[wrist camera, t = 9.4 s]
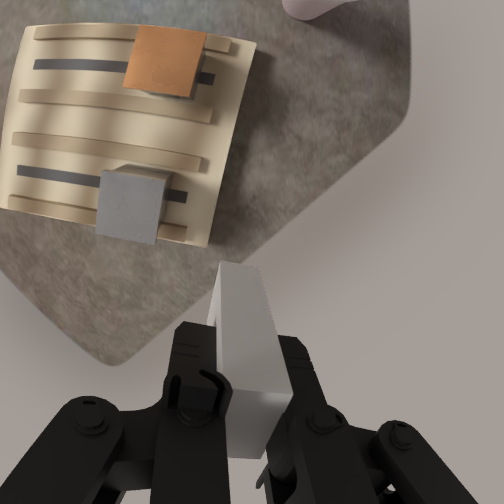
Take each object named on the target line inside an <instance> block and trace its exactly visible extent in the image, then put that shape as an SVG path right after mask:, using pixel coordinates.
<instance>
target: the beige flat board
mask: <svg viewBox="0 0 504 504" xmlns="http://www.w3.org/2000/svg"><path fill="white" fill-rule="evenodd" d="M149 26H152V25H149ZM139 27H140V24H123V23H65V24H49V25H37V26H28V27H26V28H25V31H24V35H23V38H22V41H21V45H20V48H19V52H18V55H17V59H16V63H15V67H14V71H13V75H12V80H11V84H10V89H9V94H8V100H7V105H6V111H5V118H4V125H3V132H2V141H1V151H0V208H5V209H10V210H15V211H20V212H25V213H31V214H36V215H41V216H46V217H51V218H56V219H61V220H66V221H71V222H76V223H81V224H87V225H92V226H96V216H97V205H98V196H99V187H100V179H101V172H102V170H105V169H108V170H114V169H116V168H118V167H121V166H123V165H125V164H133V165H139V166H145V167H151V168H157V169H162V170H168V171H173V177H172V182H171V187H170V193H169V198H168V204H167V210H166V216H165V219H164V221H163V223H162V225H161V226H160V228H159V230H158V236H157V238H159V239H164V240H169V241H174V242H179V243H185V244H190V245H195V246H200V247H206V248H207V245H208V240H209V235H210V230H211V226H212V221H213V217H214V212H215V207H216V203H217V198H218V194H219V190H220V185H221V181H222V177H223V172H224V168H225V164H226V160H227V155H228V151H229V147H230V143H231V139H232V135H233V131H234V127H235V123H236V119H237V115H238V111H239V107H240V103H241V99H242V96H243V92H244V88H245V84H246V81H247V77H248V73H249V69H250V66H251V62H252V59H253V55H254V51H255V48H256V44H257V43H254V42H250V41H246V40H241V39H237V38H232V37H227V36H222V35H217V34H211V33H207V38H206V42H205V51H206V56H205V60H204V64H203V67H202V71H201V74H200V78H199V82H198V86H197V90H196V93H195V97H194V100H189V99H183V98H177V97H171V96H164V95H157V94H150V93H145V92H143V91H140V90H136V89H127V88H124V87H123V82H124V78H125V75H126V71H127V67H128V63H129V60H130V56H131V53H132V49H133V46H134V43H135V39H136V36H137V33H138V30H139ZM160 27H162V26H160ZM169 28H171V27H169ZM177 29H179V28H177ZM185 30H187V29H185ZM191 31H193V30H191ZM198 32H200V31H198ZM204 33H206V32H204Z"/></svg>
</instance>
